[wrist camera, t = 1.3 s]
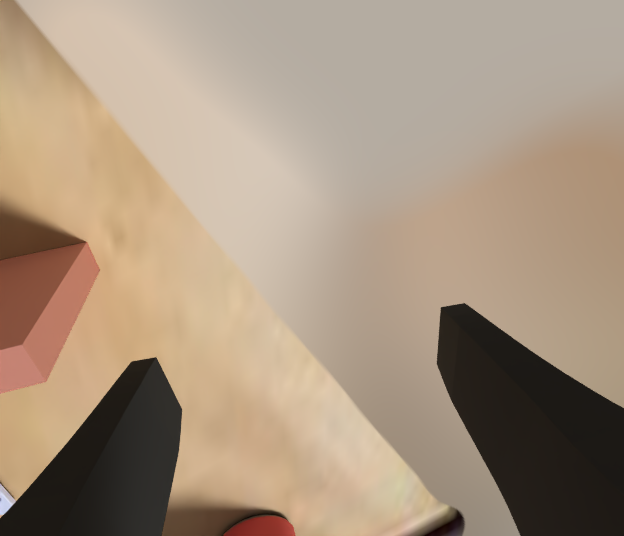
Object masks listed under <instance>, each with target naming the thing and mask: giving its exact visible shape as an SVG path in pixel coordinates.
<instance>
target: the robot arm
mask: <svg viewBox="0 0 624 536" xmlns="http://www.w3.org/2000/svg"><path fill="white" fill-rule="evenodd" d="M437 365H438V368H439V370H440V373H441V376H442V378H443V381H444V384H445V386H446V389H447V391H448V393H449V396H450V398H451V400H452V402H453V404H454V406H455V408H456V410H457V412H458V413H459V416H460V418H461V419H462V421H463V423H464V425H465V427H466V429H467V431H468V432H469V434H470V436H471V438H472V440H473V441H474V443H475V445H476V447H477V449H478V450H479V452H480V454H481V456H482V458H483V460H484V462H485V463H486V465H487V467H488V469H489V471H490V473H491V474H492V476H493V478H494V480H495V482H496V484H497V485H498V488H499V490H500V491H501V493H502V496H503V497H504V499H505V502H506V504H507V505H508V508H509V510H510V512H511V515H512V517H513V519H514V521H515V524H516V526H517V528H518V531H519V533H520V535H521V536H624V408H622V407H621V406H619V405H617V404H615V403H613V402H611V401H610V400H608V399H606V398H605V397H603V396H601V395H599V394H598V393H596V392H594V391H593V390H591V389H589V388H588V387H586V386H585V385H583V384H581V383H580V382H578V381H576V380H575V379H573V378H571V377H570V376H568V375H567V374H565V373H563V372H562V371H560V370H559V369H557V368H556V367H554V366H553V365H551V364H550V363H548V362H547V361H545V360H544V359H542V358H541V357H539V356H538V355H536V354H535V353H533V352H532V351H530V350H529V349H528V348H526V347H525V346H523V345H522V344H520V343H519V342H517V341H516V340H514V339H513V338H512V337H511V336H509V335H508V334H506V333H505V332H504V331H502V330H501V329H499V328H498V327H497V326H495V325H494V324H492V323H491V322H490V321H488V320H487V319H486V318H484V317H483V316H482V315H480V314H479V313H477V312H476V311H475V310H473V309H472V308H471V307H469V306H468V305H466V304H465V303H464V304H457V305H452V306H446V307H441V314H440V327H439V341H438V354H437ZM181 418H182V408H181V406H180V404H179V402H178V400H177V398H176V396H175V394H174V392H173V390H172V388H171V386H170V384H169V382H168V380H167V378H166V376H165V374H164V372H163V370H162V368H161V366H160V364H159V362H158V360H157V358H156V357H155V358H150V359H144V360H138V361H133V362H131V363H130V364H129V366H128V367H127V368H126V369H125V371H124V372H123V373H122V374H121V376H120V377H119V378H118V379H117V381H116V382H115V383H114V385H113V386H112V387H111V388H110V390H109V391H108V392H107V394H106V395H105V396H104V397H103V399H102V400H101V401H100V403H99V404H98V405H97V406H96V408H95V409H94V410H93V411H92V413H91V414H90V415H89V416H88V418H87V419H86V420H85V421H84V423H83V424H82V425H81V426H80V428H79V429H78V430H77V431H76V433H75V434H74V435H73V436H72V438H71V439H70V440H69V441H68V443H67V444H66V445H65V446H64V447H63V448H62V450H61V451H60V452H59V453H58V454H57V455H56V457H55V458H54V459H53V460H52V461H51V462H50V464H49V465H48V466H47V467H46V468H45V469H44V471H43V472H42V473H41V474H40V475H39V476H38V477H37V479H36V480H35V481H34V482H33V483H32V484H31V486H30V487H29V488H28V489H27V490H26V491H25V492H24V493H23V495H22V496H21V497H20V498H19V499H18V500H17V501H15V500H14V499H13V497H12V496H11V495H10V494H9V493H8V492H7V491H6V490H5V488H4V487H3V486H2V485H1V484H0V515H3V514H4V515H3V516H2V517H1V518H0V536H162V531H163V526H164V521H165V516H166V511H167V507H168V502H169V497H170V492H171V487H172V482H173V477H174V472H175V467H176V462H177V457H178V452H179V443H180V433H181Z"/></svg>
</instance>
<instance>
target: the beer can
mask: <svg viewBox="0 0 624 536" xmlns="http://www.w3.org/2000/svg"><path fill="white" fill-rule="evenodd" d="M223 536H295V532H294V528H293V526H292V525H291V524H290V523H289V522H288V521H287V520H286V519H285V518H282V517H279V516H277V515H266V514H265V515H258V516H253V517H250V518H247V519H244V520H242V521H240V522H238V523H237V524H235V525H233V526H232V527H231V528H230V529H229V530H228V531H226V532H225V534H224V535H223Z"/></svg>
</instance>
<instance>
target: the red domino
mask: <svg viewBox="0 0 624 536" xmlns="http://www.w3.org/2000/svg"><path fill="white" fill-rule="evenodd" d="M99 271H100V269H99V267H98V265H97V263H96V261H95V258H94V256H93V254H92V252H91V250H90V248H89V246H88V243H87V242H84V243H80V244H75V245H70V246H65V247H61V248H56V249H51V250H46V251H42V252H37V253H32V254H27V255H22V256H18V257H13V258H8V259H3V260H0V394H1V393H5V392H8V391H12V390H16V389H20V388H24V387H28V386H32V385H35V384H39V383H43V382H46V381H47V379H48V377H49V375H50V373H51V371H52V369H53V367H54V365H55V362H56V360H57V358H58V356H59V354H60V352H61V350H62V348H63V346H64V344H65V342H66V340H67V338H68V335H69V333H70V331H71V329H72V327H73V325H74V323H75V321H76V319H77V317H78V315H79V313H80V311H81V308H82V306H83V304H84V302H85V300H86V298H87V296H88V294H89V292H90V290H91V288H92V286H93V284H94V282H95V279H96V277H97V275H98V273H99Z"/></svg>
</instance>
